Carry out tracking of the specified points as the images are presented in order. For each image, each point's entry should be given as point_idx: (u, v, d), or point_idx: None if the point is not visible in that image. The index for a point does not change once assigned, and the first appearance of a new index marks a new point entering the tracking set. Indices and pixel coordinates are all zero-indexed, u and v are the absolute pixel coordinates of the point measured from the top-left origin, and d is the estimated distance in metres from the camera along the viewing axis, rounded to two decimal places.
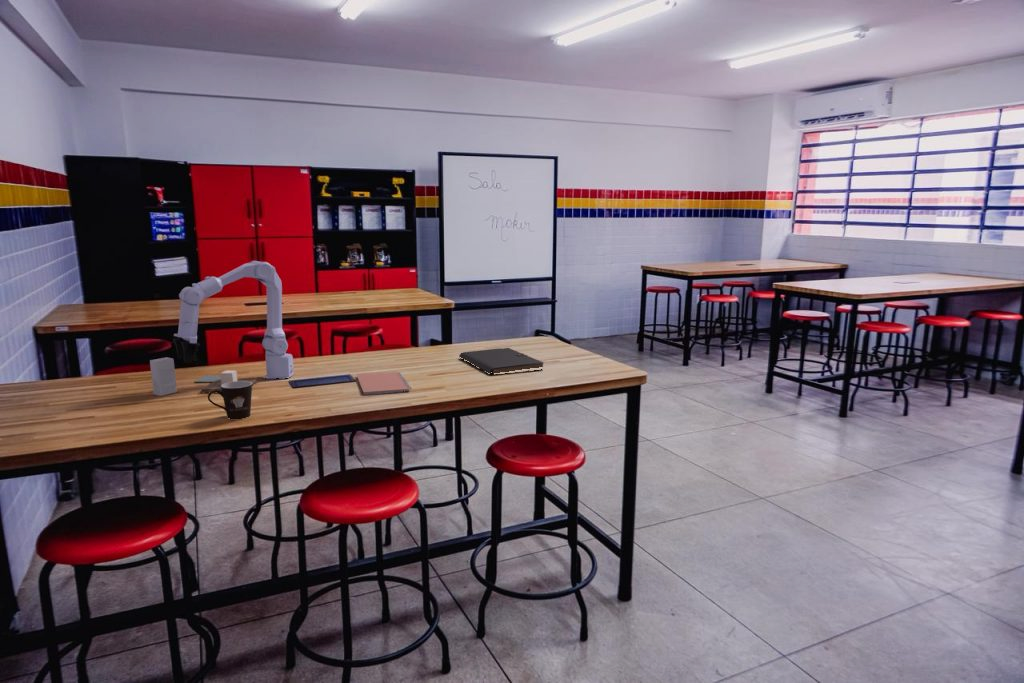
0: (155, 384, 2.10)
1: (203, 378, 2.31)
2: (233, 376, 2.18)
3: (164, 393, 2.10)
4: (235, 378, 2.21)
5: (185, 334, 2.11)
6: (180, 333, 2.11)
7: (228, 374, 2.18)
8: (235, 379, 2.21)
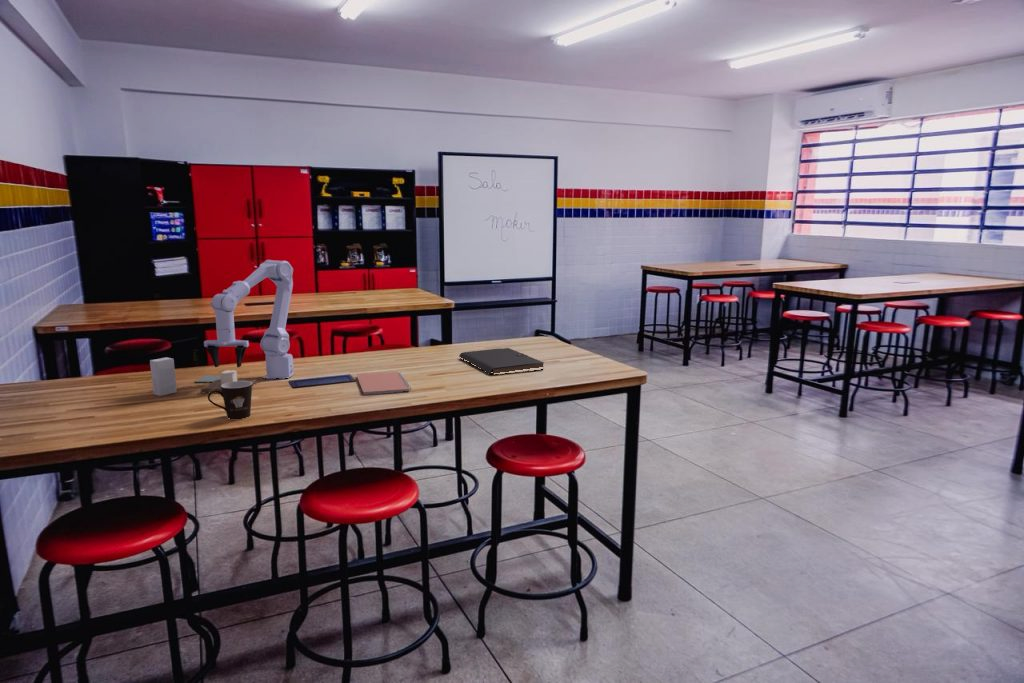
0: (155, 384, 2.10)
1: (203, 378, 2.31)
2: (233, 376, 2.18)
3: (164, 393, 2.10)
4: (235, 378, 2.20)
5: (232, 340, 2.16)
6: (227, 341, 2.15)
7: (228, 374, 2.18)
8: (235, 379, 2.20)
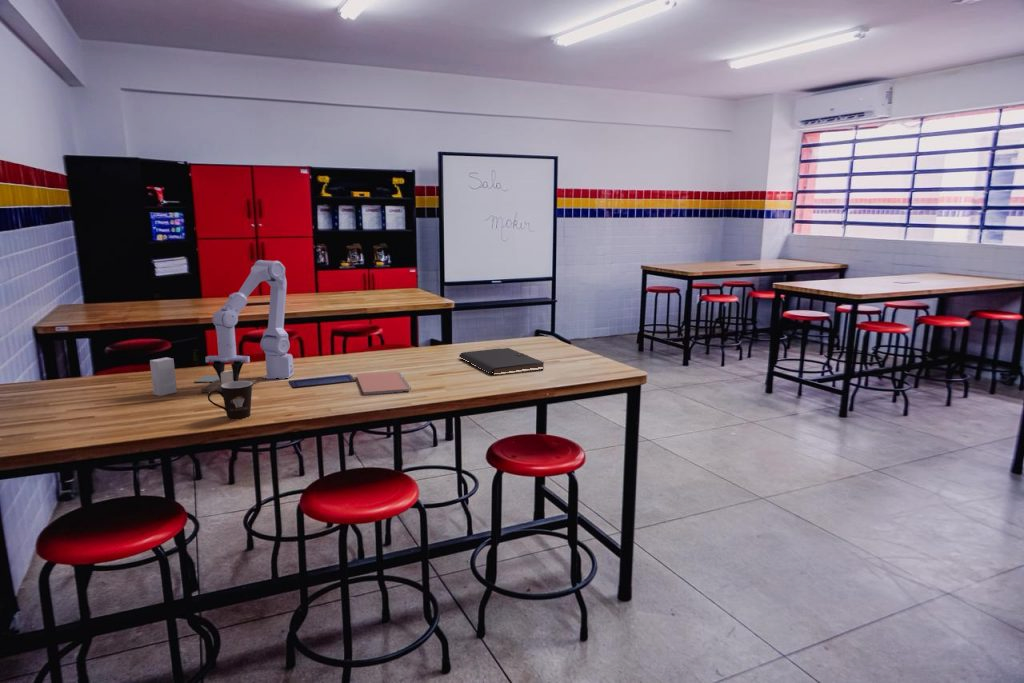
0: (155, 384, 2.10)
1: (203, 378, 2.31)
2: None
3: (164, 393, 2.10)
4: None
5: (233, 356, 2.17)
6: (228, 356, 2.16)
7: (228, 374, 2.18)
8: None
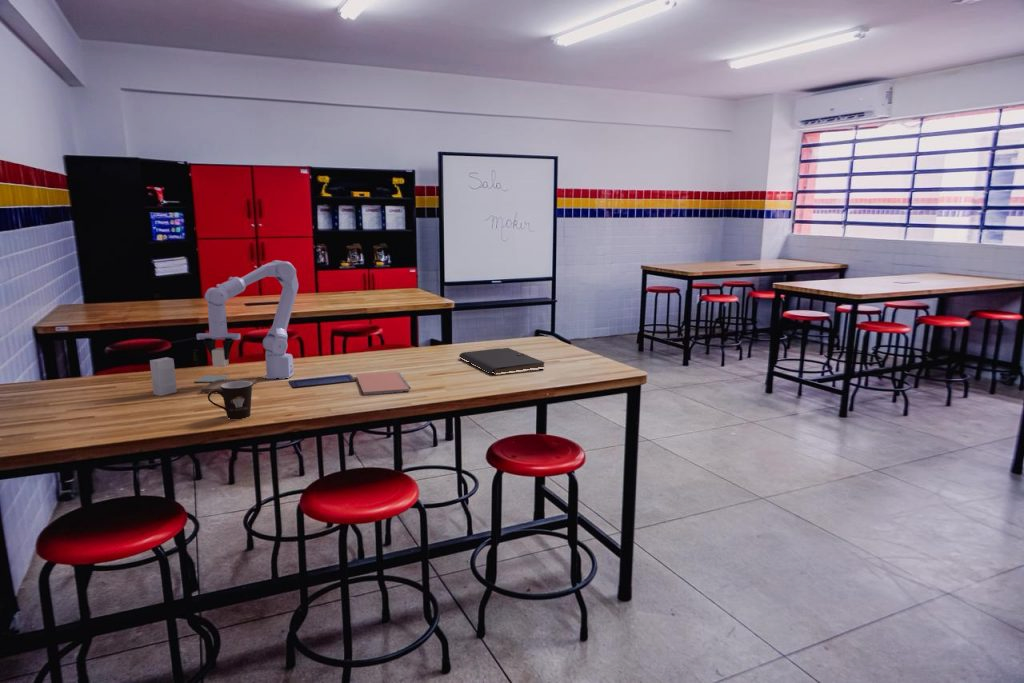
0: (155, 384, 2.10)
1: (203, 378, 2.31)
2: None
3: (164, 393, 2.10)
4: None
5: (224, 333, 2.21)
6: (219, 333, 2.19)
7: (219, 351, 2.21)
8: None
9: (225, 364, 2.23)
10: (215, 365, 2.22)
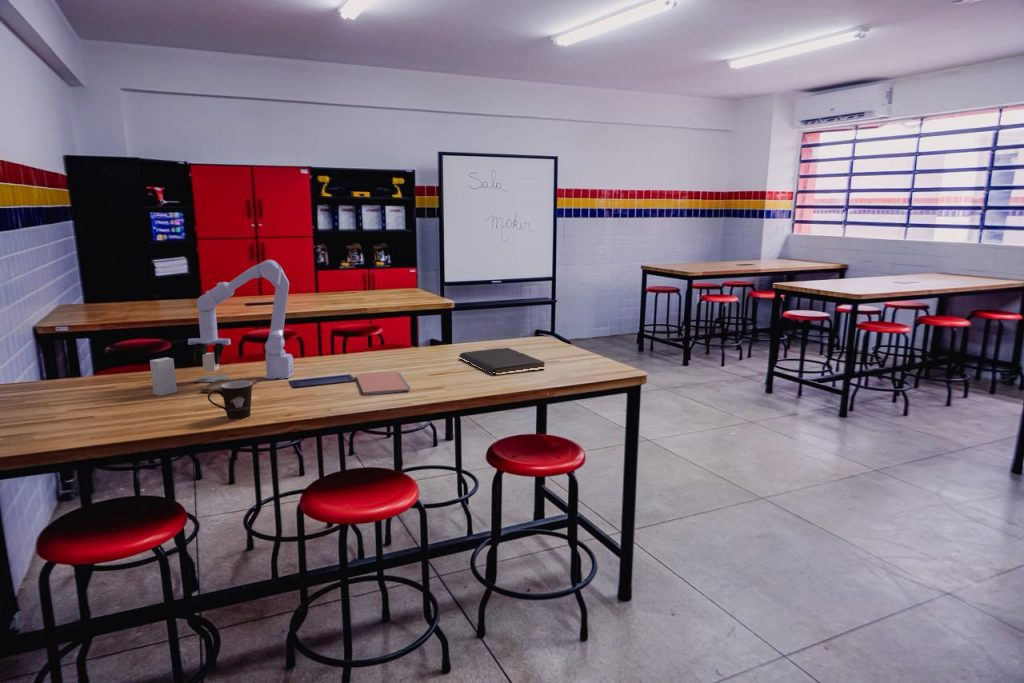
0: (155, 384, 2.10)
1: (203, 378, 2.31)
2: (214, 358, 2.29)
3: (164, 393, 2.10)
4: None
5: (214, 338, 2.28)
6: (209, 339, 2.26)
7: (209, 356, 2.28)
8: None
9: (215, 368, 2.30)
10: (206, 369, 2.29)
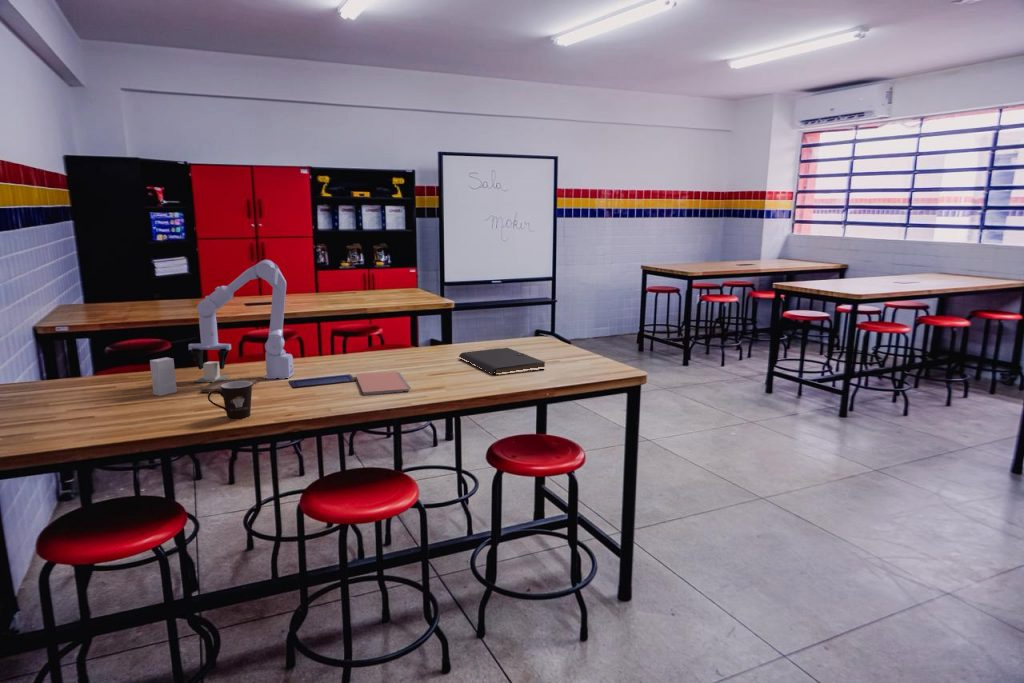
0: (155, 384, 2.10)
1: (203, 378, 2.31)
2: (215, 367, 2.29)
3: (164, 393, 2.10)
4: (217, 369, 2.31)
5: (215, 344, 2.28)
6: (210, 344, 2.27)
7: (210, 365, 2.29)
8: (217, 370, 2.31)
9: (216, 377, 2.31)
10: (206, 378, 2.29)
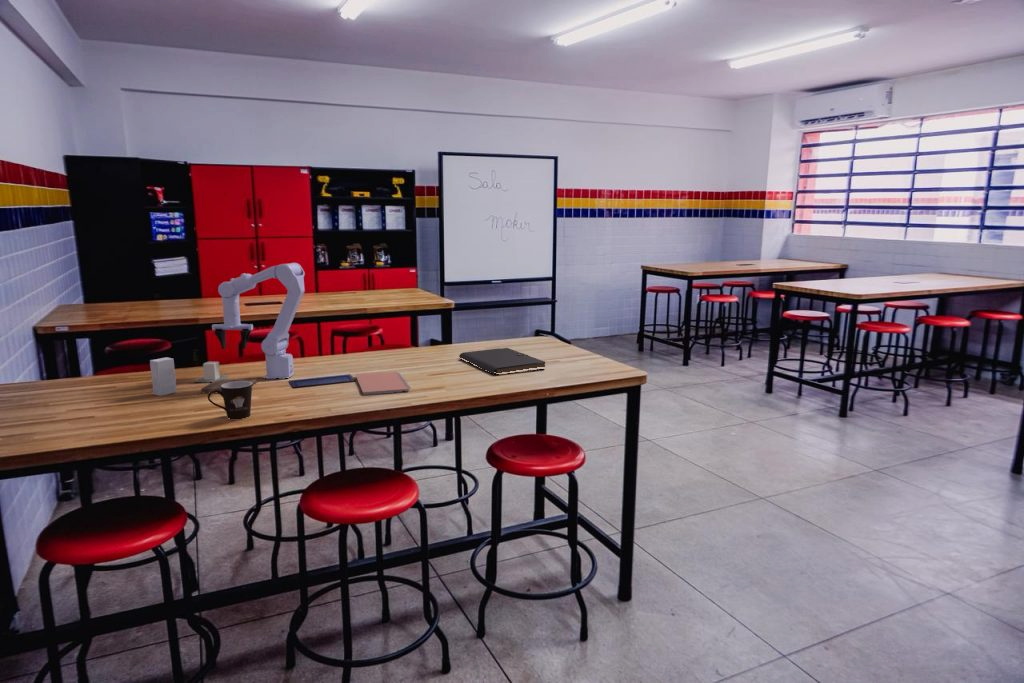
0: (155, 384, 2.10)
1: (203, 378, 2.31)
2: (215, 367, 2.29)
3: (164, 393, 2.10)
4: (217, 369, 2.31)
5: (237, 324, 2.35)
6: (233, 324, 2.34)
7: (210, 365, 2.29)
8: (217, 370, 2.31)
9: (216, 377, 2.31)
10: (206, 378, 2.29)
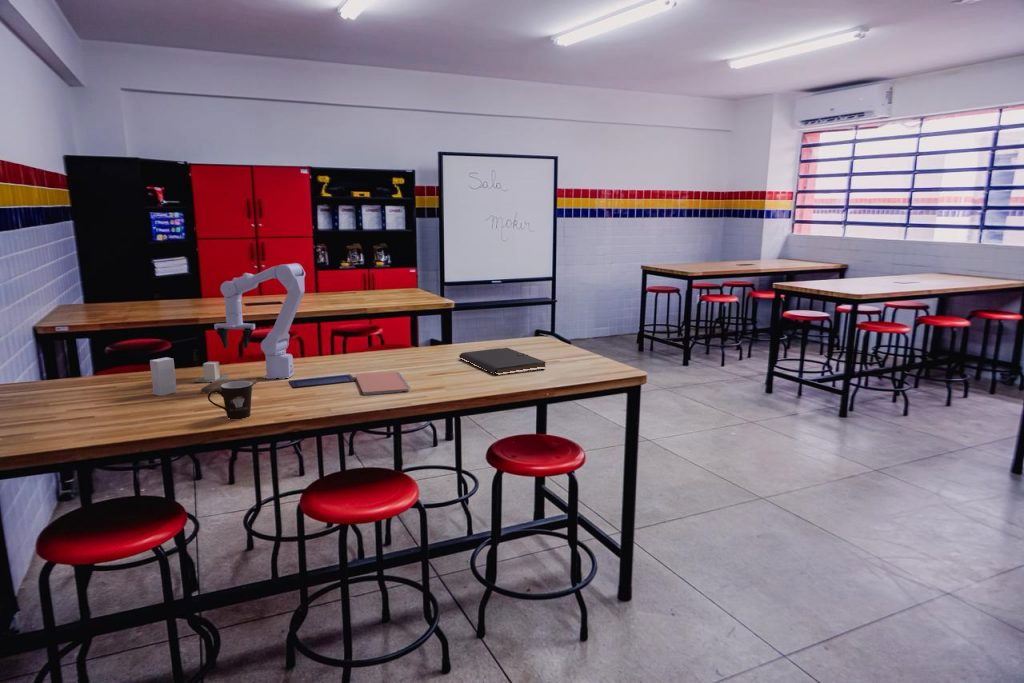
0: (155, 384, 2.10)
1: (203, 378, 2.31)
2: (215, 367, 2.29)
3: (164, 393, 2.10)
4: (217, 369, 2.31)
5: (240, 323, 2.36)
6: (235, 323, 2.35)
7: (210, 365, 2.29)
8: (217, 370, 2.31)
9: (216, 377, 2.31)
10: (206, 378, 2.29)
